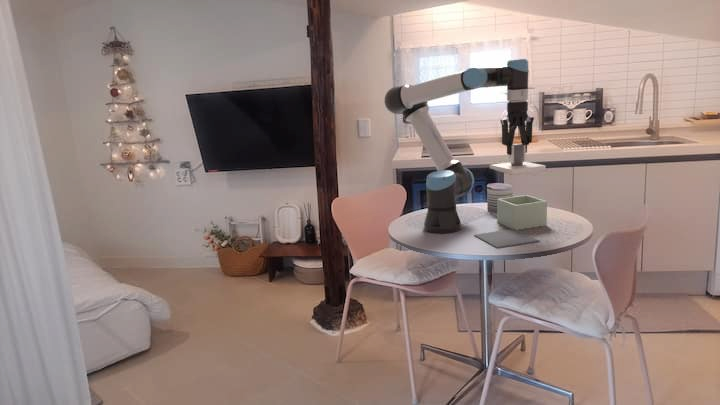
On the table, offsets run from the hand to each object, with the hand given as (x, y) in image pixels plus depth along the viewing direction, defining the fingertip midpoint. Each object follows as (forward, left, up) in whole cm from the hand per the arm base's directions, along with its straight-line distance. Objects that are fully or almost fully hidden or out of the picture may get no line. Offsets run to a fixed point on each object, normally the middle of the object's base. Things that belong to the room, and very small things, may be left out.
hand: (516, 162), depth 190 cm
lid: (0, 0, -3) cm, 3 cm away
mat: (-12, -11, -26) cm, 31 cm away
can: (+8, +28, -27) cm, 39 cm away
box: (+4, +4, -26) cm, 27 cm away
